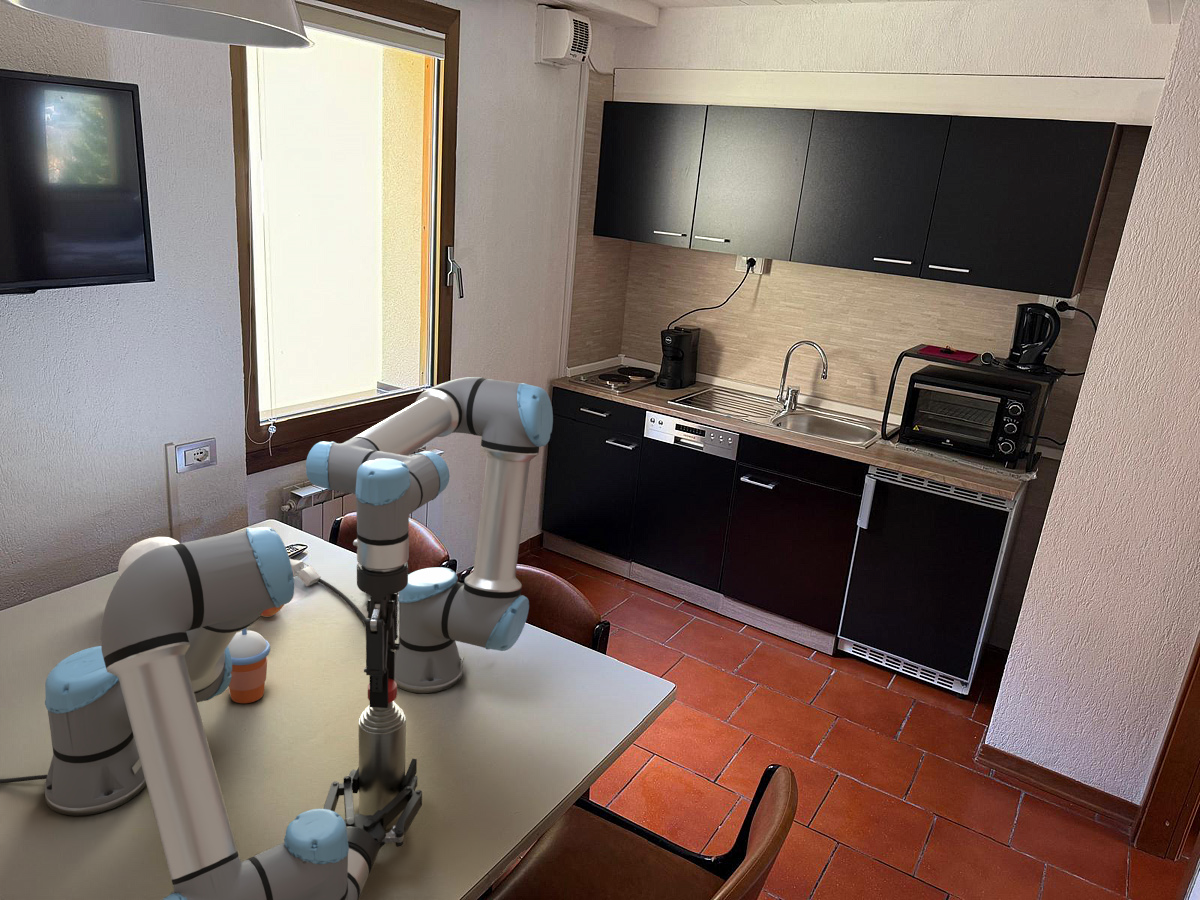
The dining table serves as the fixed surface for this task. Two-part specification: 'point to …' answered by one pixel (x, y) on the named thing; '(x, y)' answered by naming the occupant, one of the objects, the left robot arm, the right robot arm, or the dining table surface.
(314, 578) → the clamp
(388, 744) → the bottle
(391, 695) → the cap
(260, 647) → the cup with straw
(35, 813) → the dining table surface
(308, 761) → the dining table surface
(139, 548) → the skull
